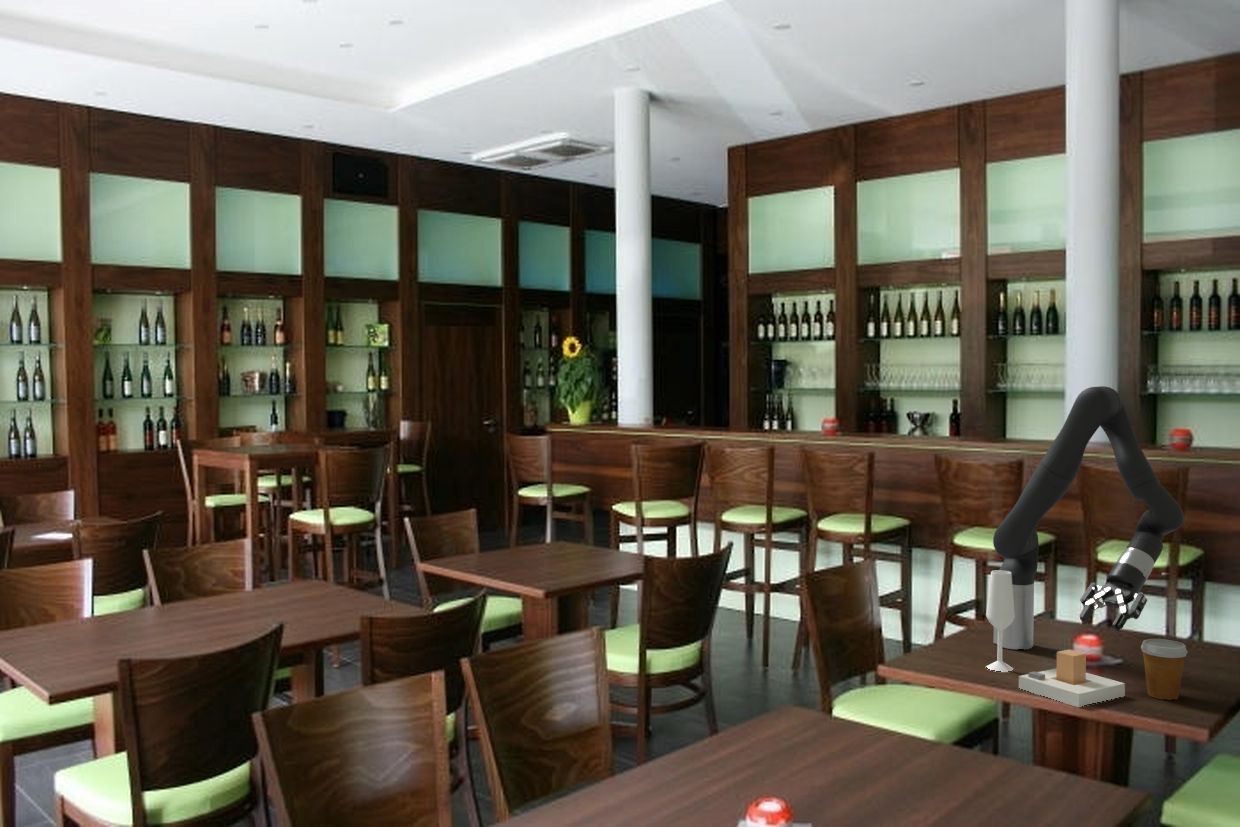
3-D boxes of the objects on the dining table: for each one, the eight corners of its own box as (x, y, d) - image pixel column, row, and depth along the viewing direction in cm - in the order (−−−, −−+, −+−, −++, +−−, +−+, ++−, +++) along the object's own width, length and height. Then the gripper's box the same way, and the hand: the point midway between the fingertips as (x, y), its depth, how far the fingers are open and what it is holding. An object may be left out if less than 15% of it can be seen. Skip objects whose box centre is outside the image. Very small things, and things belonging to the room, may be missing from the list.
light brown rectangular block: (1056, 690, 249) (1056, 651, 248) (1068, 687, 251) (1069, 649, 251) (1072, 695, 245) (1073, 656, 245) (1085, 692, 247) (1086, 653, 247)
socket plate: (1018, 688, 251) (1018, 671, 251) (1064, 678, 259) (1064, 662, 259) (1078, 707, 237) (1078, 689, 237) (1124, 696, 245) (1125, 679, 245)
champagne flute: (1016, 672, 264) (1018, 575, 263) (987, 671, 265) (989, 574, 264) (1011, 665, 271) (1012, 570, 270) (983, 664, 272) (984, 569, 271)
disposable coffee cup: (1190, 704, 239) (1191, 650, 239) (1142, 699, 243) (1143, 646, 242) (1182, 692, 248) (1184, 640, 248) (1137, 688, 252) (1138, 636, 251)
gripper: (1097, 556, 262) (1065, 608, 257) (1151, 566, 250) (1119, 621, 245) (1111, 576, 265) (1079, 628, 260) (1165, 586, 253) (1133, 641, 247)
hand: (1098, 624), depth 252 cm, fingers open, 8 cm apart
